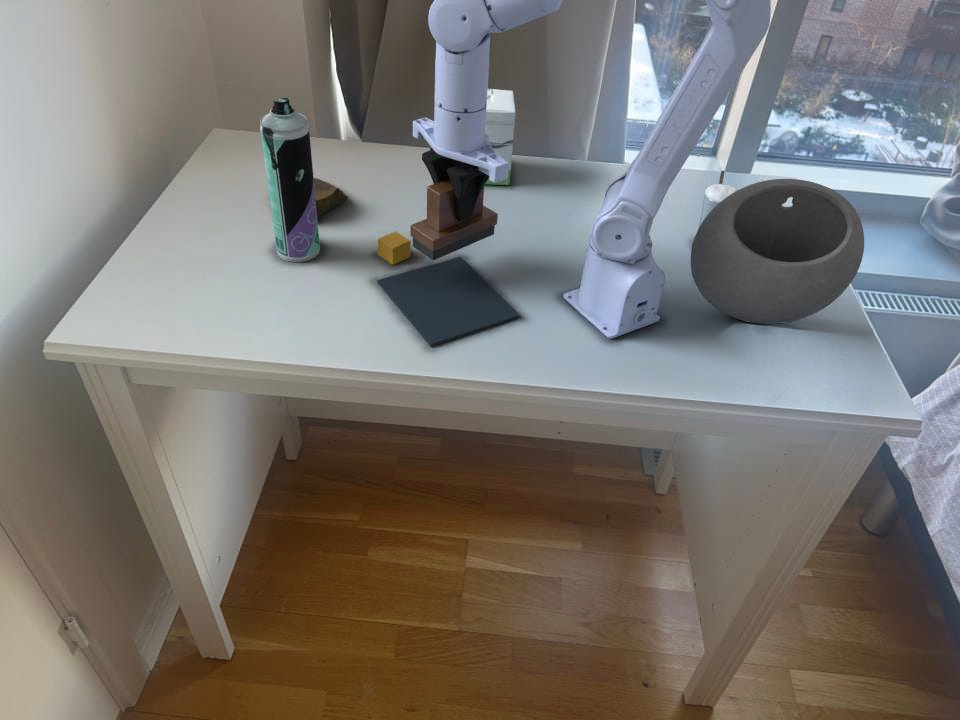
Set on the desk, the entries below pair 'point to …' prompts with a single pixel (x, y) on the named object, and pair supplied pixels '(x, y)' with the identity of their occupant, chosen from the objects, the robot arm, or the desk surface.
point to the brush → (450, 223)
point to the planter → (777, 251)
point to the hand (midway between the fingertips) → (456, 212)
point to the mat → (447, 300)
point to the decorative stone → (327, 196)
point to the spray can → (290, 182)
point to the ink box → (501, 126)
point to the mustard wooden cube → (394, 248)
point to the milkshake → (715, 196)
